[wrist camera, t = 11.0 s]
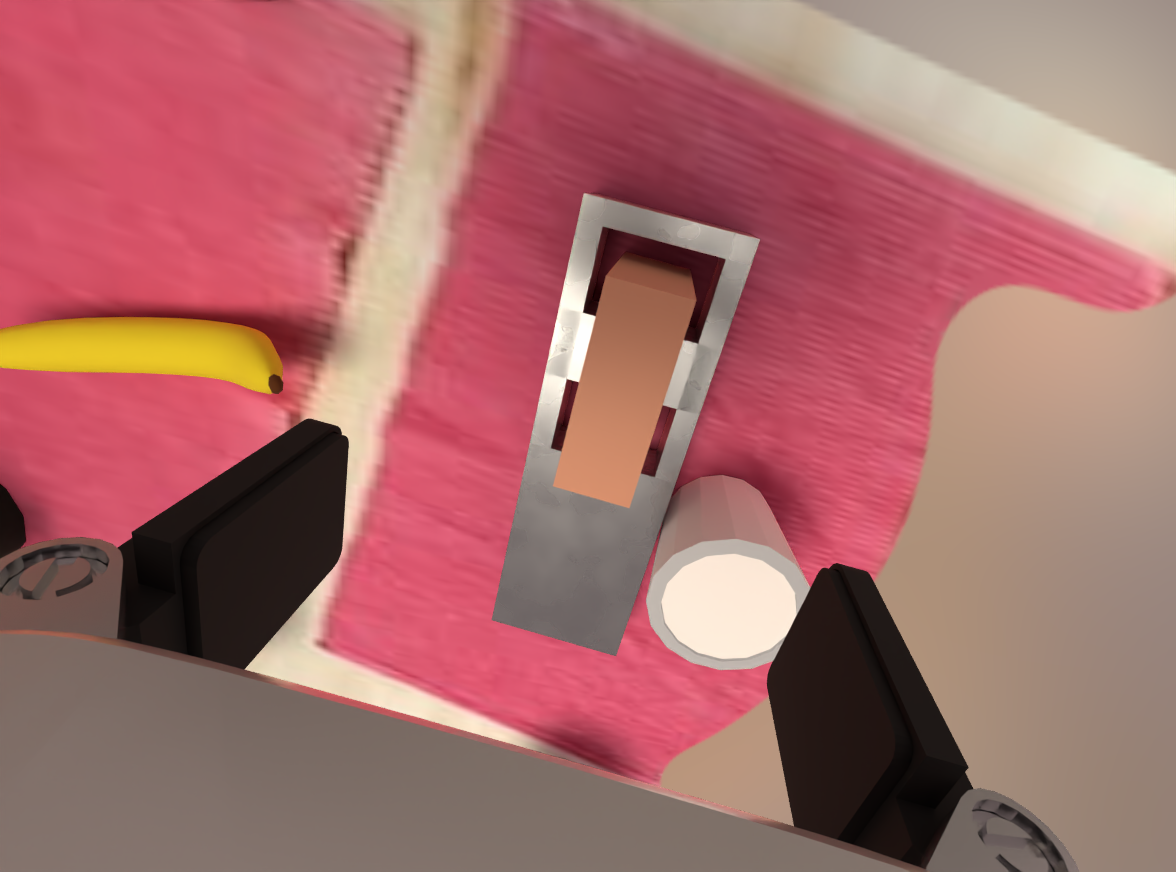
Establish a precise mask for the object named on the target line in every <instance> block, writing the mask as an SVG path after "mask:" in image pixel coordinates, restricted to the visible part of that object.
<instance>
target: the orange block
mask: <svg viewBox="0 0 1176 872" xmlns="http://www.w3.org/2000/svg"><path fill="white" fill-rule="evenodd" d="M695 303H696V296H695V291H694V286H693V280H692V275H691V270H690V269H687V268H683V267H680V266H676V265H672V264H669V263H665V262H661V261H658V260H654V259H650V258H647V257H643V256H639V255H636V254H632V253H628V252H625V253H624V254H623V255H622V257H621V258H620V259H619V260H618V262H617V263H616V264H615V265H614V266H613V268H612V269H611V270H610V271H609V273H608V274H607V275H606V277H605V281H604V285H603V289H602V293H601V297H600V301H599V305H598V309H597V313H596V317H595V321H594V325H593V329H592V333H591V337H590V341H589V345H588V349H587V353H586V357H585V361H584V365H583V369H582V373H581V377H580V381H579V385H578V389H577V392H576V396H575V400H574V404H573V408H572V412H571V416H570V420H569V424H568V428H567V432H566V436H565V440H564V444H563V448H562V452H561V456H560V460H559V464H558V468H557V472H556V476H555V480H554V484H553V486H554V487H557V488H561V489H564V490H567V491H571V492H574V493H578V494H581V495H585V496H588V497H592V498H595V499H599V500H602V501H606V502H609V503H613V504H616V505H620V506H623V507H627V508H630V505H631V502H632V499H633V496H634V492H635V489H636V486H637V483H638V480H639V477H640V474H641V471H642V468H643V465H644V461H645V458H646V455H647V452H648V449H649V446H650V443H651V440H652V437H653V434H654V430H655V427H656V424H657V421H658V418H659V415H660V412H661V409H662V406H663V403H664V400H665V396H666V393H667V390H668V387H669V384H670V381H671V378H672V375H673V372H674V369H675V365H676V362H677V359H678V356H679V353H680V350H681V347H682V344H683V341H684V338H685V334H686V331H687V328H688V325H689V322H690V319H691V316H692V313H693V310H694V307H695Z"/></svg>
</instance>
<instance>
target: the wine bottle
mask: <svg viewBox="0 0 1176 872" xmlns="http://www.w3.org/2000/svg"><path fill="white" fill-rule="evenodd" d="M25 542H26V539H25V529H24V518H23V516H22V514H21V512H20V511H19V509H18V508H17V506H16V504H15V503H14V501H13V500H12V498H11V496H10V495H9V493H8V492H7V490H6V489H5V488H4V487H3V486H1V485H0V559H1V558H2V557H4V556H6V555H8V554H10V553H12V552H14V551H16V550H18V549H20V548H21V546H22V545H23V544H24V543H25Z"/></svg>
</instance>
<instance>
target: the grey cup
mask: <svg viewBox="0 0 1176 872" xmlns="http://www.w3.org/2000/svg"><path fill="white" fill-rule="evenodd" d="M809 590H810V586H809V584H808V582H807V580H806V578H805V576H804V574H803V572H802V570H801V568H800V566H799V564H798V562H797V560H796V558H795V556H794V554H793V552H792V550H791V548H790V546H789V544H788V542H787V540H786V538H785V536H784V534H783V532H782V530H781V529H780V527H779V525H778V523H777V521H776V519H775V517H774V515H773V513H772V511H771V509H770V507H769V505H768V504H767V502H766V500H765V499H764V497H763V496H762V494H761V492H760V491H759V490H757V489H756V488H754V487H753V486H751V485H750V484H748V483H747V482H745V481H744V480H742V479H738V478H733V477H729V476H725V475H715V476H706V477H699V478H697V479H695V480H693V481H691V482H689V483H687V484H685V485H683V486H681V487H680V489H679V490H678V491H677V492H676V493H675V494H674V495H673V497H672V498H671V499H670V501H669V504H668V507H667V510H666V513H665V516H664V518H663V523H662V528H661V532H660V537H659V542H658V546H657V551H656V556H655V561H654V565H653V570H652V575H651V579H650V584H649V589H648V594H647V598H646V603H647V608H648V614H649V619H650V624H651V626H652V628H653V629H654V631H655V632H656V633H657V635H658V636H659V637H660V639H661V640H662V641H663V643H664V644H665V645H666V647H667V648H669V649H671V650H672V651H674V652H675V653H677V654H678V655H680V656H682V657H683V658H685V659H686V660H688V661H689V662H691V663H695V664H699V665H703V666H707V667H710V668H714V669H718V670H733V669H752V668H755V667H758V666H760V665H763V664H766V663H769V662H771V661H773V660H774V659H775V657H776V655H777V653H778V651H779V649H780V647H781V645H782V643H783V641H784V639H785V637H786V635H787V633H788V631H789V629H790V627H791V625H792V623H793V621H794V619H795V618H796V616H797V614H798V612H799V610H800V608H801V606H802V604H803V602H804V600H805V598H806V596H807V594H808V592H809Z"/></svg>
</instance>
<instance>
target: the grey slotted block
mask: <svg viewBox="0 0 1176 872" xmlns="http://www.w3.org/2000/svg"><path fill="white" fill-rule="evenodd" d="M609 228H611V229H615V230H618V231H622V232H626V233H630V234H633V235H637V236H641V237H645V238H649V239H652V240H656V241H660V242H664V243H667V244H671V245H675V246H679V247H683V248H686V249H690V250H694V251H698V252H701V253H705V254H709V255H713V256H716V257H719V258H718V261H717V264H716V268H715V271H714V274H713V277H712V280H711V283H710V286H709V289H708V292H707V296H706V299H705V302H704V305H703V308H702V311H701V314H700V317H699V320H698V324H697V327H696V328H693V327H689V326H688V328H687V331H686V334H685V338H684V341H683V344H682V347H681V350H680V353H679V356H678V359H677V362H676V365H675V369H674V372H673V375H672V378H671V381H670V384H669V387H668V390H667V393H666V396H665V400H664V403H663V405H664V406H667V407H671V408H670V411H669V414H668V417H667V420H666V423H665V426H664V429H663V432H662V436H661V439H660V442H659V445H658V448H657V451H656V450H652V449H648V452H647V455H646V458H645V461H644V465H643V468H642V471H641V474H640V477H639V480H638V483H637V486H636V489H635V492H634V496H633V499H632V502H631V505H630V508H627V507H623V506H620V505H616V504H613V503H609V502H606V501H602V500H599V499H595V498H592V497H588V496H585V495H581V494H578V493H574V492H571V491H567V490H564V489H561V488H557V487H554V486H553V484H554V480H555V476H556V472H557V468H558V464H559V460H560V456H561V452H562V448H563V444H564V440H565V436H566V432H567V428H568V426H566V425H562V423H563V419H564V415H565V411H566V407H567V402H568V398H569V394H570V390H571V386H572V382H573V381H576V382H579V381H580V377H581V373H582V369H583V365H584V361H585V357H586V353H587V349H588V345H589V341H590V337H591V333H592V329H593V325H594V321H595V317H596V313H597V309H598V305H599V302H596V301H593V300H592V298H593V293H594V289H595V285H596V281H597V277H598V273H599V268H600V264H601V260H602V256H603V252H604V247H605V243H606V239H607V235H608V231H609ZM759 241H760V239H759V238H757V237H755V236H753V235H752V234H749V233H745V232H741V231H737V230H733V229H730V228H726V227H722V226H718V225H714V224H711V223H707V222H703V221H699V220H695V219H692V218H688V217H684V216H680V215H676V214H673V213H669V212H665V211H661V210H657V209H654V208H650V207H646V206H642V205H638V204H635V203H631V202H627V201H623V200H619V199H616V198H612V197H608V196H604V195H600V194H597V193H584V195H583V199H582V204H581V209H580V213H579V218H578V222H577V227H576V232H575V236H574V241H573V246H572V250H571V255H570V260H569V264H568V269H567V273H566V278H565V283H564V287H563V292H562V297H561V301H560V306H559V311H558V315H557V320H556V324H555V329H554V334H553V338H552V343H551V348H550V352H549V357H548V362H547V366H546V371H545V375H544V380H543V385H542V389H541V394H540V399H539V403H538V408H537V412H536V417H535V422H534V426H533V431H532V436H531V440H530V445H529V450H528V454H527V459H526V463H525V468H524V473H523V477H522V482H521V487H520V491H519V496H518V501H517V505H516V510H515V514H514V519H513V524H512V528H511V533H510V538H509V542H508V547H507V552H506V556H505V561H504V565H503V570H502V575H501V579H500V584H499V589H498V593H497V598H496V602H495V607H494V612H493V616H492V620H493V621H497V622H500V623H504V624H507V625H510V626H514V627H517V628H521V629H524V630H528V631H531V632H535V633H538V634H541V635H545V636H548V637H552V638H555V639H559V640H562V641H566V642H569V643H573V644H576V645H579V646H583V647H586V648H590V649H593V650H597V651H600V652H604V653H607V654H610V655H614V656H616V654H617V651H618V648H619V645H620V643H621V640H622V637H623V634H624V631H625V628H626V625H627V622H628V620H629V617H630V614H631V611H632V608H633V605H634V602H635V599H636V596H637V594H638V591H639V588H640V585H641V582H642V579H643V576H644V573H645V570H646V568H647V565H648V562H649V559H650V556H651V553H652V550H653V547H654V544H655V542H656V539H657V536H658V533H659V530H660V527H661V524H662V521H663V518H664V516H665V513H666V510H667V507H668V504H669V501H670V498H671V495H672V492H673V490H674V487H675V484H676V481H677V478H678V475H679V472H680V469H681V466H682V464H683V461H684V458H685V455H686V452H687V449H688V446H689V443H690V441H691V438H692V435H693V432H694V429H695V426H696V423H697V420H698V417H699V415H700V412H701V409H702V406H703V403H704V400H705V397H706V394H707V391H708V389H709V386H710V383H711V380H712V377H713V374H714V371H715V368H716V365H717V363H718V360H719V357H720V354H721V351H722V348H723V345H724V342H725V339H726V337H727V334H728V331H729V328H730V325H731V322H732V319H733V316H734V313H735V311H736V308H737V305H738V302H739V299H740V296H741V293H742V290H743V287H744V285H745V282H746V279H747V276H748V273H749V270H750V267H751V264H752V261H753V259H754V256H755V253H756V250H757V247H758V244H759Z"/></svg>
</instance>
